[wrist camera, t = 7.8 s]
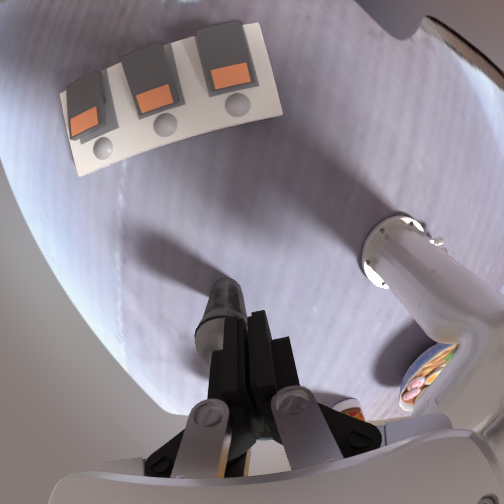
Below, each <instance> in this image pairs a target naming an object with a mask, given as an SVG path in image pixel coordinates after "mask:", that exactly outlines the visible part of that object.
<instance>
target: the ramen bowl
mask: <svg viewBox="0 0 504 504" xmlns="http://www.w3.org/2000/svg"><path fill="white" fill-rule="evenodd" d="M458 347H459V344H443V343H438V344H436V345H434V346H432V347H430V348H429V349H427V350H426V351H425V352H424V353H422V354H421V355H420V356H419V357H418V358H417V359H416V360H415V361H414V362H413V364H412V365H411V366H410V367H409V369H408V371H407V372H406V374H405V376H404V378H403V381H402V384H401V388H400V396H399V406H400V407H401V408H402V409H403V410H404V411H411V412H413V408H414V406H415V404H416V402H417V400H418V399H419V398H420V396H421V395H422V394H423V393H424V391H425V390H426V389H427V388H428V387H429V385H430V384H431V383H432V382H433V381H434V379H435V378H436V377H437V376H438V375H439V373H440V372H441V371H442V370H443V369H444V367H445V366H446V365H447V364H448V362H449V361H450V360H451V358H452V356H453V355H454V353H455V352H456V351H457V349H458Z"/></svg>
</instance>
